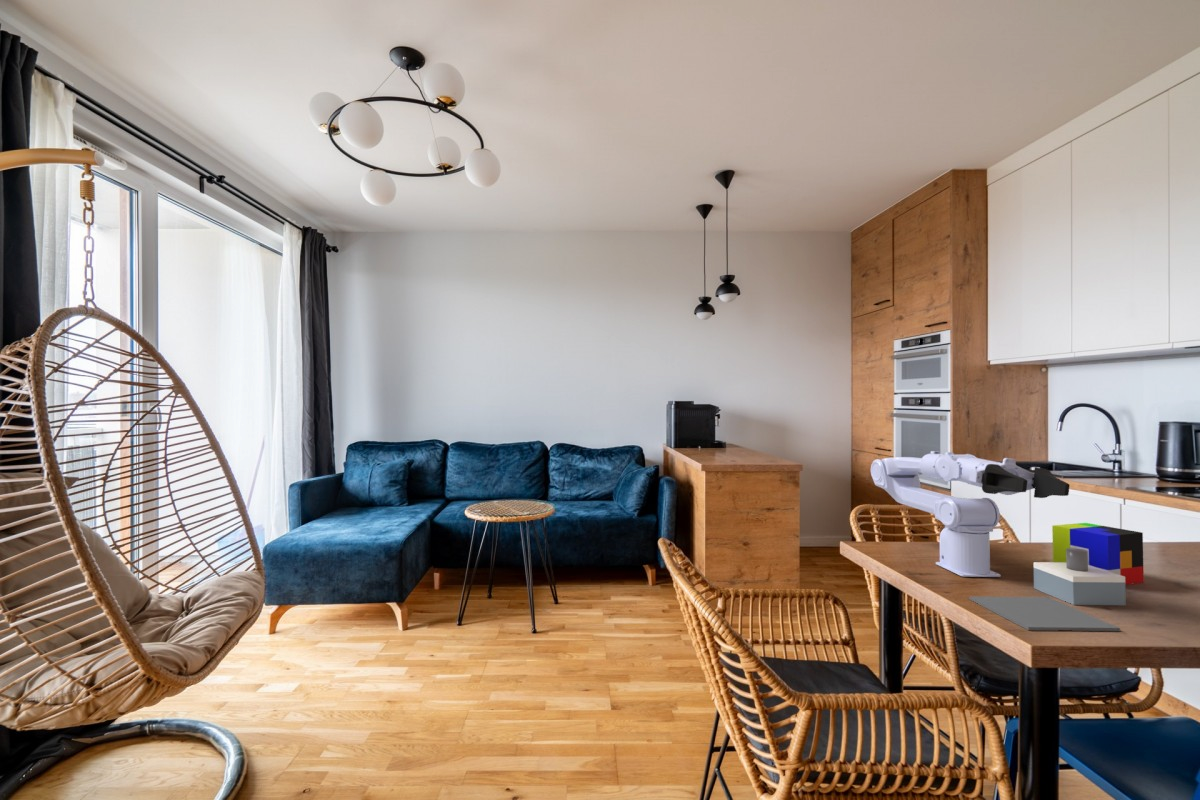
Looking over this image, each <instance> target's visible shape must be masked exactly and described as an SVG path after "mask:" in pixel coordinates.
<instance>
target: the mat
mask: <svg viewBox="0 0 1200 800" xmlns="http://www.w3.org/2000/svg"><path fill="white" fill-rule="evenodd" d="M968 598H969V600H970V601H972V602H973V601H974V603H975V602H976V604H977V603H978V604H977V605H979V606H981V607H983V608H985V609H987V610H988V611H991V612H993V613H994V614H997V615H998V616H1000V617H1002V618H1003V619H1006V620H1008V621H1010V622H1011V623H1014V624H1016V625H1017V626H1019V627H1020V628H1021V627H1022V628H1023V629H1025V630H1027V631H1045V632H1046V631H1053V632H1054V631H1055V632H1056V631H1058V630H1072V631H1071V632H1073V631H1075V632H1121V628H1120V627H1118V626H1116V625H1115V624H1112V623H1110V622H1108V621H1105V620H1103V619H1100V618H1098V617H1095V616H1093V615H1091V614H1088V613H1086V612H1084V611H1082V610H1079V609H1077V608H1075V607H1073V606H1069V605H1067V604H1065V603H1063V602H1060V601H1058V600H1056V599H1053V598H1050V597H1048V596H969V597H968Z"/></svg>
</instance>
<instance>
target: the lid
mask: <svg viewBox="0 0 1200 800" xmlns="http://www.w3.org/2000/svg"><path fill="white" fill-rule="evenodd" d="M1034 568H1036V569H1039V570H1042V571H1044V572H1047V573H1050V574H1053V575H1055V576H1058V577H1061V578H1063V579H1066V580H1069V581H1072V582H1125V577H1124V576H1121V575H1118V574H1115V573H1112V572H1109V571H1106V570H1103V569H1100V568H1096V567H1093V566H1090V565H1088V551H1086V550H1083V549H1076V548H1066V562H1053V561H1049V562H1048V561H1047V562H1046V561H1045V562H1044V561H1043V562H1041V561H1038V562H1037V561H1036V562H1035V561H1034V562H1033V569H1034Z"/></svg>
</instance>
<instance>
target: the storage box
mask: <svg viewBox="0 0 1200 800" xmlns="http://www.w3.org/2000/svg"><path fill="white" fill-rule="evenodd" d="M1033 589H1035V590H1037V591H1038V592H1039V591H1040V592H1042V593H1044V594H1047V595H1048V596H1051V597H1054V598H1056V599H1058V600H1061V601H1063V602H1065V601H1066V603H1067V604H1070V603H1071V604H1070V605H1073V606H1127V604H1126V601H1127V600H1126V599H1127V597H1126V585H1125V582H1072V581H1069V580H1066V579H1063V578H1061V577H1058V576H1055V575H1053V574H1050V573H1047V572H1044V571H1042V570H1039V569H1036V568H1034V567H1033Z"/></svg>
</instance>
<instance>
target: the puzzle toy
mask: <svg viewBox="0 0 1200 800" xmlns="http://www.w3.org/2000/svg"><path fill="white" fill-rule="evenodd" d="M1051 527H1052V528H1051V529H1052V531H1051V532H1052V562H1066V548H1076V549H1083V550H1086V551H1088V565H1090V566H1093V567H1096V568H1100V569H1103V570H1106V571H1109V572H1112V573H1115V574H1118V575H1121V576H1124V577H1125V586H1127V585H1126V584H1129V585H1133V584H1132V583H1137V584H1142V583H1141V582H1144V581H1145V580H1144V579H1145V577H1144V572H1145V571H1144V536H1143V535H1144V532H1141V531H1135V530H1129V529H1123V528H1117V527H1111V526H1105V525H1100V524H1094V523H1088V522H1080V523H1079V522H1078V523H1067V524H1054V525H1052V526H1051ZM1144 583H1145V582H1144Z"/></svg>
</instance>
